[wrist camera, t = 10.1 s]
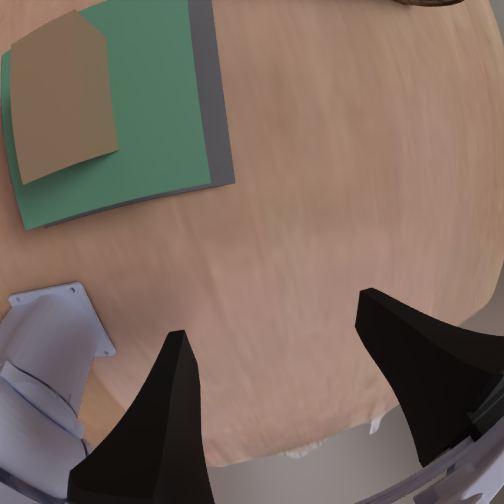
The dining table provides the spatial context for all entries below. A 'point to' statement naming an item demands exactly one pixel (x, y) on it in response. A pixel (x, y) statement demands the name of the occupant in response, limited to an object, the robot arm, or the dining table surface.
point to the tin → (430, 2)
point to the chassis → (209, 106)
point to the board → (138, 114)
